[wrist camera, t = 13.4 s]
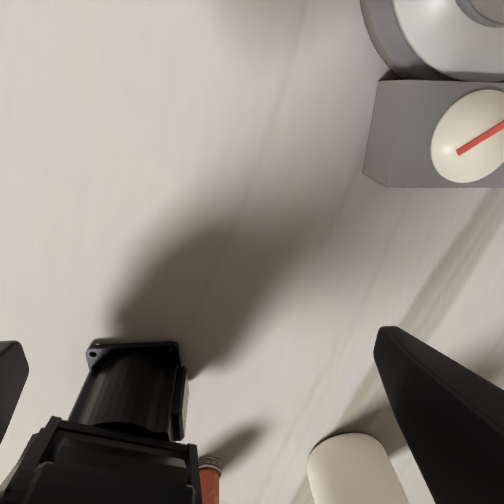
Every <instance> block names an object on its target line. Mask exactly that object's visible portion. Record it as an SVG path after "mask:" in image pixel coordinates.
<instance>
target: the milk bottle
mask: <svg viewBox="0 0 504 504" xmlns="http://www.w3.org/2000/svg"><path fill="white" fill-rule="evenodd" d="M307 472H308V477H309V482H310V486H311V491H312V495H313V499H314V504H410V503H409V501H408V498H407V496H406V494H405V492H404V490H403V488H402V485H401V483H400V481H399V479H398V477H397V475H396V472H395V470H394V468H393V466H392V464H391V462H390V460H389V457H388V455H387V453H386V451H385V449H384V448H383V446H382V445H381V444H380V443H379V442H378V441H377V440H376V439H375V438H373V437H372V436H369V435H366V434H361V433H347V434H341V435H337V436H334V437H332V438H329V439H327V440H325V441H323V442H322V443H321V444H319V445H318V446H317V447H316V448H315V449H314V450H313V451H312V452H311V454H310V455H309V458H308V462H307Z"/></svg>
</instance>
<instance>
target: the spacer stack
mask: <svg viewBox="0 0 504 504" xmlns="http://www.w3.org/2000/svg"><path fill="white" fill-rule="evenodd" d="M455 2H456V4H457V5H458V7H459V8H460V9H461V11H462V12H463V13H464V14H465V15H466V16H467V17H468V18H469V19H471V20H473V21H474V22H476V23H478V24H480V25H483V26H487V27H492V28H503V27H504V0H455Z"/></svg>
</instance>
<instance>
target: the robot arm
mask: <svg viewBox="0 0 504 504" xmlns="http://www.w3.org/2000/svg"><path fill="white" fill-rule="evenodd" d="M171 348H174V349H175V350H171ZM93 352H95V353H93ZM373 354H374V360H375V363H376V366H377V369H378V371H379V374H380V377H381V380H382V383H383V386H384V389H385V391H386V394H387V397H388V400H389V403H390V406H391V408H392V411H393V413H394V416H395V418H396V420H397V422H398V425H399V427H400V429H401V431H402V433H403V435H404V437H405V440H406V442H407V444H408V446H409V448H410V450H411V452H412V454H413V457H414V459H415V461H416V463H417V465H418V467H419V469H420V471H421V474H422V476H423V478H424V480H425V482H426V484H427V486H428V488H429V491H430V493H431V495H432V497H433V499H434V501H435V503H436V504H504V390H502V389H501V388H499V387H497V386H496V385H494V384H492V383H491V382H489V381H487V380H486V379H484V378H482V377H481V376H479V375H477V374H476V373H474V372H472V371H471V370H469V369H467V368H466V367H464V366H462V365H461V364H459V363H457V362H455V361H454V360H452V359H450V358H449V357H447V356H445V355H444V354H442V353H440V352H439V351H437V350H435V349H434V348H432V347H430V346H429V345H427V344H425V343H424V342H422V341H420V340H419V339H417V338H415V337H414V336H412V335H410V334H409V333H407V332H405V331H404V330H402V329H400V328H398V327H396V326H383V327H380V329H379V330H378V334H377V338H376V342H375V346H374V351H373ZM86 358H87V362H88V366H89V370H90V371H89V374H88V376H87V378H86V380H85V382H84V385H83V387H82V389H81V391H80V393H79V396H78V398H77V400H76V402H75V405H74V407H73V409H72V411H71V413H70V416H69V418H68V420H67V421H66V420H61V419H62V418H60V417H55V416H52V417H51V418H50V420H49V422H48V423H47V425H46V427H45V428H41V430H40V431H39V433H36V434H33V435H32V437H31V438H30V440H29V442H28V444H27V446H26V448H25V450H24V452H23V453H22V455H21V457H20V459H19V461H18V462H17V464H16V465H15V467H14V468H13V470H12V471H11V472H10V474H9V475H8V476H7V477H6V479H5V480H4V481H3V483H2V484H1V485H0V504H202V491H201V482H200V472H199V463H198V453H197V445H195V444H190V443H188V444H187V445H186V444H181V443H176V442H175V441H181V440H182V439H183V438H184V436H185V425H186V415H187V404H188V394H189V389H188V377H187V369H186V368H185V367H184V366H183V367H182V366H181V355H180V346H179V344H178V343H176V342H157V343H132V344H108V345H92V346H89V347H88V349H87V351H86ZM28 373H29V366H28V362H27V360H26V357H25V354H24V351H23V348H22V346H21V344H20V343H19V342H18V341H15V340H14V341H0V444H1V442H2V439H3V437H4V435H5V433H6V430H7V428H8V425H9V423H10V420H11V418H12V415H13V413H14V410H15V408H16V405H17V403H18V400H19V397H20V395H21V392H22V390H23V387H24V385H25V382H26V380H27V377H28Z"/></svg>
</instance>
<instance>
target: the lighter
mask: <svg viewBox="0 0 504 504" xmlns="http://www.w3.org/2000/svg"><path fill="white" fill-rule="evenodd" d="M198 463H199V472H200V482H201V491H202V504H219V478H220V476H221V463H220V462H219V460H217V459H216V458H213V457H201V458H199V459H198Z"/></svg>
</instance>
